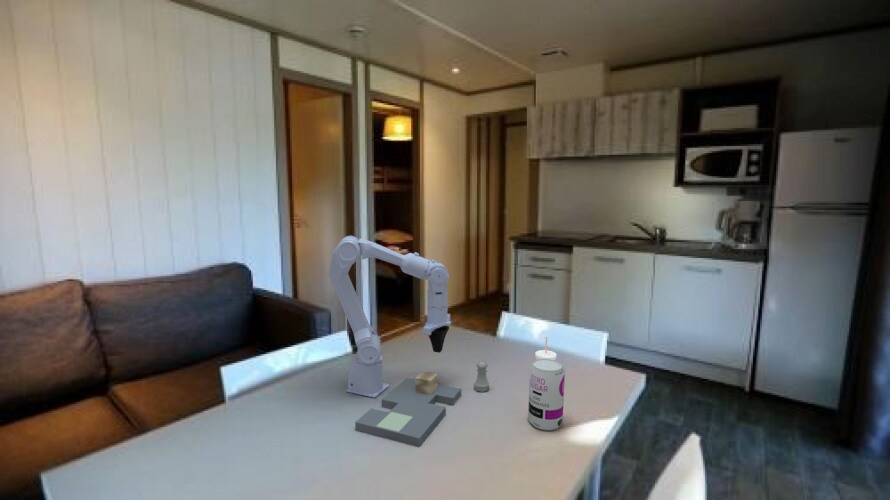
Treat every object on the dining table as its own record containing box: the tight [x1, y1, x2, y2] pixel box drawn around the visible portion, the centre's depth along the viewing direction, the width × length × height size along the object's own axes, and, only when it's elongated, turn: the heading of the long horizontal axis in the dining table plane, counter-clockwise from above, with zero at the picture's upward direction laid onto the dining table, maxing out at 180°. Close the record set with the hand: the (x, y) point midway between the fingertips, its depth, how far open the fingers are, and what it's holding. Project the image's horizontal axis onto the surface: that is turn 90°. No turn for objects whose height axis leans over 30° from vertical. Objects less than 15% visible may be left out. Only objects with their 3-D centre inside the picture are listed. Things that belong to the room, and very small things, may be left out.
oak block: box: [415, 371, 438, 395], centre depth 118 cm, size 4×4×4 cm
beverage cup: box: [534, 336, 557, 361], centre depth 126 cm, size 6×6×14 cm
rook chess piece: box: [473, 360, 490, 393], centre depth 123 cm, size 4×4×8 cm
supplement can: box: [527, 359, 566, 432], centre depth 105 cm, size 8×8×15 cm
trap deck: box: [354, 377, 462, 447], centre depth 111 cm, size 17×26×2 cm, turn 157°
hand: (437, 351), depth 124 cm, fingers closed
